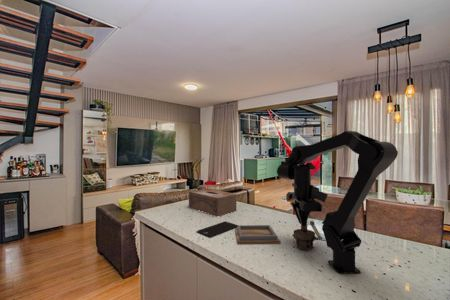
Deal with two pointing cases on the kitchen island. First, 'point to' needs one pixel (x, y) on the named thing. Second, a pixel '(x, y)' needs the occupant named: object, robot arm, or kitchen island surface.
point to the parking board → (256, 232)
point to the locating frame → (256, 237)
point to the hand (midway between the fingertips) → (302, 224)
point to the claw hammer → (316, 231)
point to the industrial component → (304, 237)
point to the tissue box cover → (212, 201)
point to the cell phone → (217, 229)
